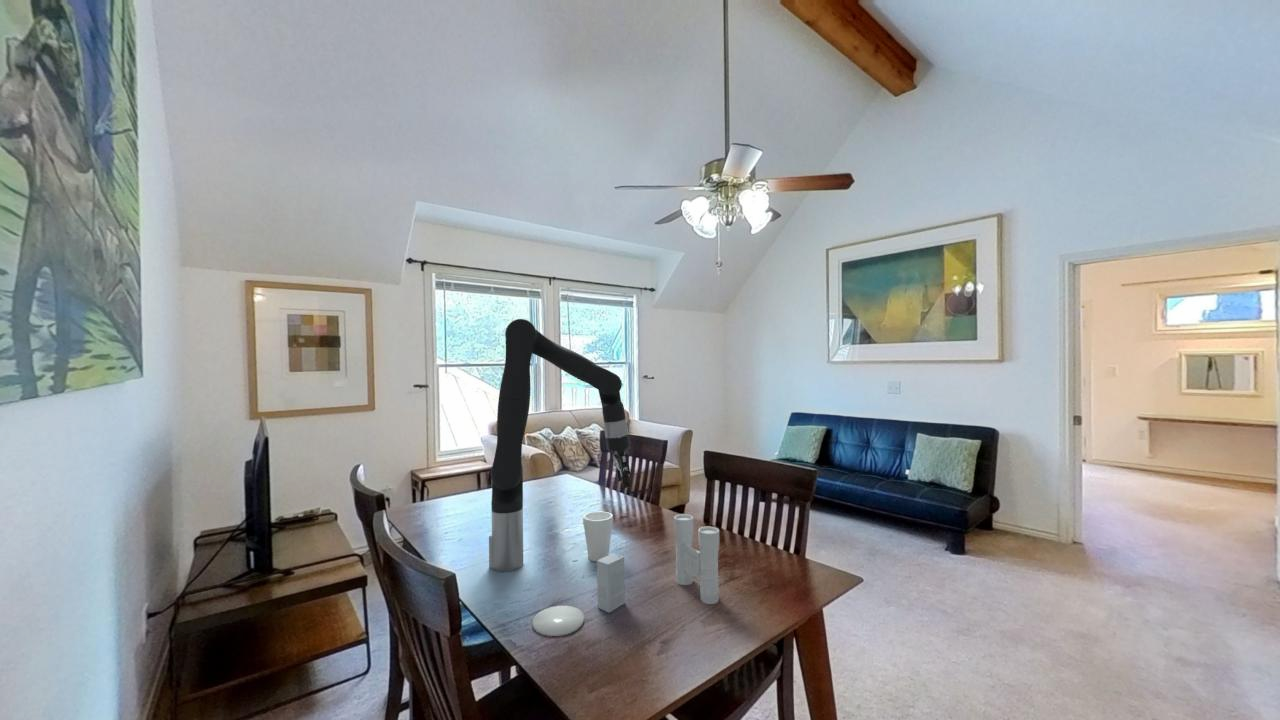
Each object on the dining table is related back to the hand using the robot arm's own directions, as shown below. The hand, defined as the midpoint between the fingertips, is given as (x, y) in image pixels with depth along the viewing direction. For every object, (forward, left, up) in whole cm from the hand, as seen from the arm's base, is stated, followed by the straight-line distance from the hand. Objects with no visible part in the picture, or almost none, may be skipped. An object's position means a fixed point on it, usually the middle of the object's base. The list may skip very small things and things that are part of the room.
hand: (624, 483), depth 153 cm
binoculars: (+25, -19, -23) cm, 39 cm away
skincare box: (+5, -32, -23) cm, 40 cm away
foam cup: (-8, -4, -23) cm, 24 cm away
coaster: (-5, -42, -23) cm, 48 cm away
